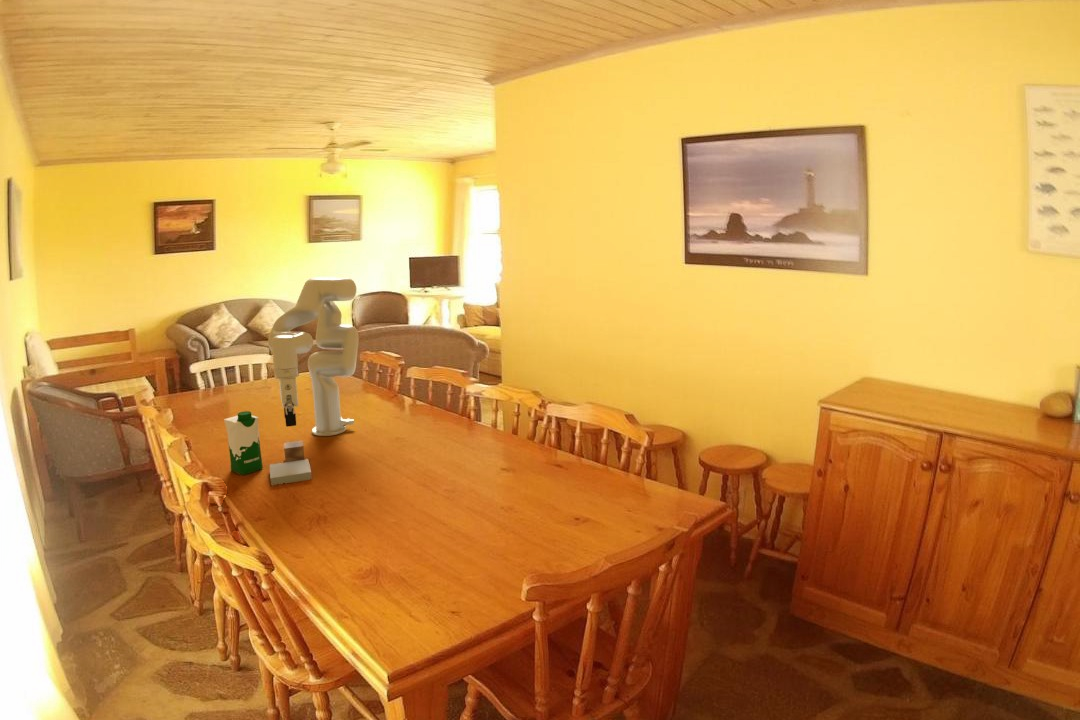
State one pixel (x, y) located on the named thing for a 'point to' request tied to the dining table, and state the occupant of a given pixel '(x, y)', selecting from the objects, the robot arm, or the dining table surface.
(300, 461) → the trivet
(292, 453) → the walnut block
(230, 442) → the soya milk
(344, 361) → the robot arm
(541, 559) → the dining table surface
